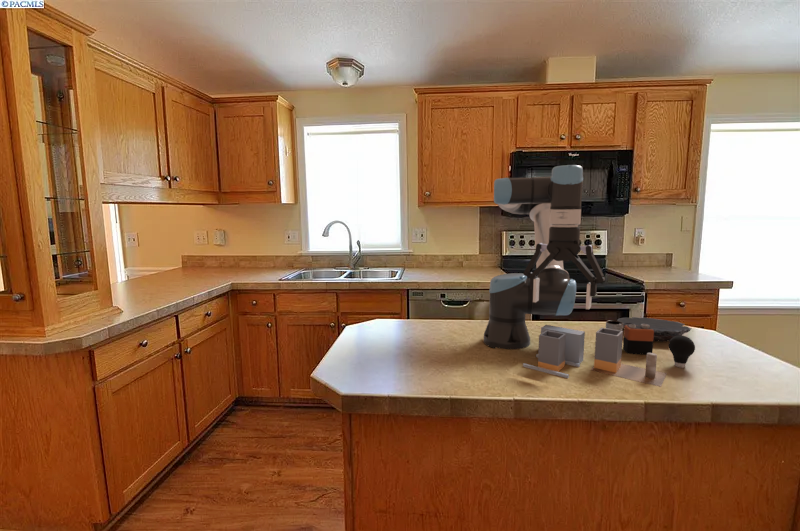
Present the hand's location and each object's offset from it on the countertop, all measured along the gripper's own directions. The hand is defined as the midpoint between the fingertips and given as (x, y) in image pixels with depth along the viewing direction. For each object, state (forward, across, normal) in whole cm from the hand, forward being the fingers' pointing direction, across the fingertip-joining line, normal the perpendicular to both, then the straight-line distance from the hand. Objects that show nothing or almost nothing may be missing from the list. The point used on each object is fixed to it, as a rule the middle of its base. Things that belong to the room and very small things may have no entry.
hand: (561, 304), depth 106 cm
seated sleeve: (+17, +11, +7) cm, 22 cm away
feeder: (+19, -1, +1) cm, 19 cm away
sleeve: (+18, -1, -2) cm, 18 cm away
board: (+20, +18, +50) cm, 57 cm away
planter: (+19, +10, +22) cm, 31 cm away
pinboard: (+19, +16, +6) cm, 26 cm away
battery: (+19, +16, +24) cm, 35 cm away
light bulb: (+19, +27, +18) cm, 38 cm away
